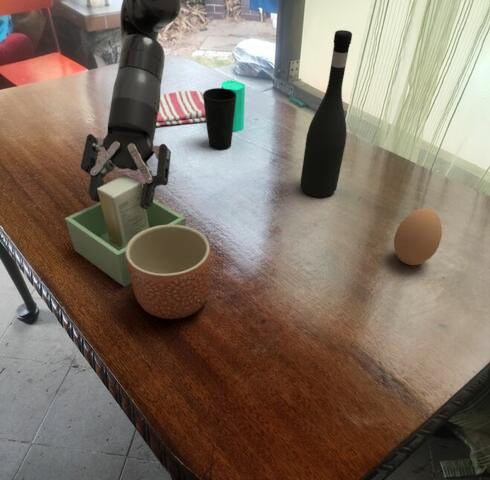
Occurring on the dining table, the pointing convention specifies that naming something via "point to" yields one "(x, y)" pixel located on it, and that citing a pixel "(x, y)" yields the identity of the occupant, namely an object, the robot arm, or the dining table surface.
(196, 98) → the dish towel
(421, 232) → the egg
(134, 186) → the cosmetic box
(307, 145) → the wine bottle
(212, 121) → the cup
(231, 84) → the candle
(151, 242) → the planter
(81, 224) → the green open box
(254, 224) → the dining table surface
